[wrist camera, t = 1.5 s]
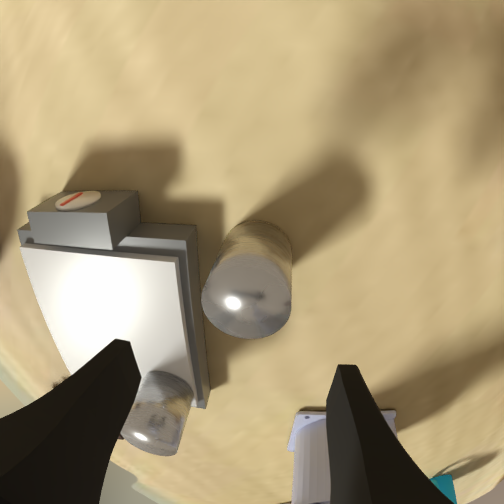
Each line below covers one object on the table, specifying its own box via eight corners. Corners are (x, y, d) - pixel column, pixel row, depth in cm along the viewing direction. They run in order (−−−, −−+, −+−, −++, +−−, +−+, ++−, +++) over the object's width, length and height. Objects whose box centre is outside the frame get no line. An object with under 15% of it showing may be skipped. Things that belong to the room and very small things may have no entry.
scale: (194, 186, 17) (171, 208, 13) (210, 390, 25) (201, 424, 21) (28, 189, 18) (-6, 207, 15) (83, 363, 26) (66, 389, 23)
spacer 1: (190, 375, 20) (171, 435, 16) (196, 407, 22) (181, 460, 18) (138, 366, 20) (112, 419, 16) (149, 397, 22) (129, 447, 18)
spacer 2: (294, 223, 17) (295, 270, 13) (288, 284, 19) (287, 342, 14) (221, 218, 17) (198, 262, 13) (223, 279, 19) (204, 334, 15)
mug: (449, 482, 36) (455, 517, 28) (408, 495, 38) (412, 531, 31) (456, 462, 31) (465, 505, 24) (408, 479, 33) (413, 522, 26)
